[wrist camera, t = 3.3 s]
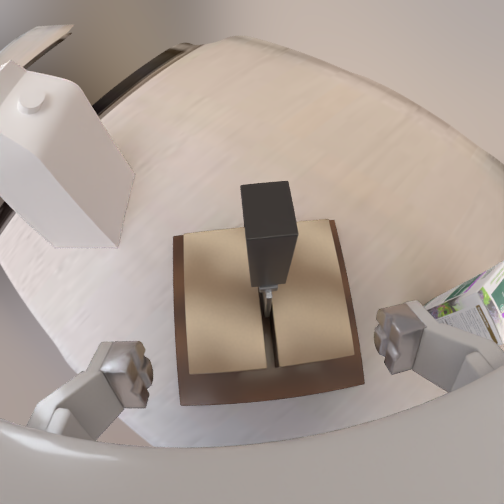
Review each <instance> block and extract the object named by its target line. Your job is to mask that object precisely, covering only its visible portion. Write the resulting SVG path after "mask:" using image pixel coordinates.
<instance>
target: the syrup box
mask: <svg viewBox="0 0 504 504" xmlns="http://www.w3.org/2000/svg"><path fill="white" fill-rule="evenodd" d="M423 307H424V308H425V309H426V310H427V311H428V312H429V313H430V314H431V315H432V316H433V317H434V319H435V320H436V321H437V322H438V323H439V324H440V323H445V324H447V325H450V326H453V327H456V328H458V329H461V330H464V331H467V332H469V333H472V334H475V335H478V336H481V337H483V338H486V339H489V340H492V341H494V342H495V343H496V344H497V345H501V344H504V261H502V262H500V263H498V264H497V265H495V266H493V267H492V268H490V269H488V270H487V271H485V272H483V273H481V274H479V275H477V276H475V277H474V278H472V279H470V280H468V281H466V282H464V283H462V284H460V285H458V286H456V287H455V288H453V289H451V290H449V291H447V292H445V293H443V294H441V295H439V296H437V297H435V298H433V299H432V300H431V301H429V302H428V303H427V304H426V305H424V306H423Z"/></svg>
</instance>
